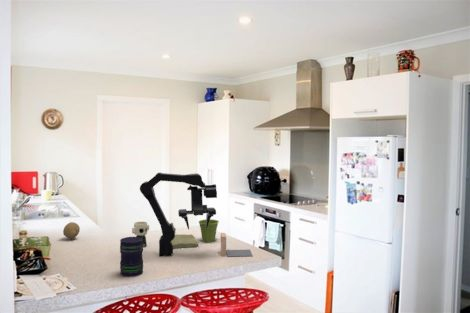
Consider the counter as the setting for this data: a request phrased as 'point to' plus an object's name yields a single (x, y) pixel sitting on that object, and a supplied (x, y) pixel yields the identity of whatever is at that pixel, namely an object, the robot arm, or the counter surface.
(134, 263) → the storage jar
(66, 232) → the natural sponge
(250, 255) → the mat
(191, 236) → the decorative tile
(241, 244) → the counter surface
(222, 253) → the tile
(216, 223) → the plant pot
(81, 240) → the counter surface
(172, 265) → the counter surface
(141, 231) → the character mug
